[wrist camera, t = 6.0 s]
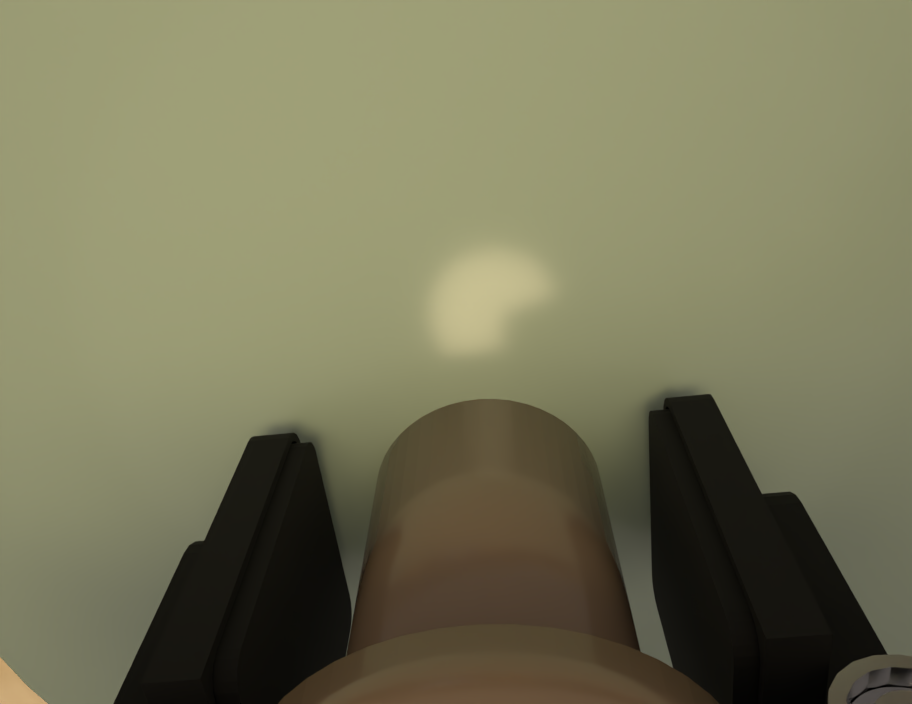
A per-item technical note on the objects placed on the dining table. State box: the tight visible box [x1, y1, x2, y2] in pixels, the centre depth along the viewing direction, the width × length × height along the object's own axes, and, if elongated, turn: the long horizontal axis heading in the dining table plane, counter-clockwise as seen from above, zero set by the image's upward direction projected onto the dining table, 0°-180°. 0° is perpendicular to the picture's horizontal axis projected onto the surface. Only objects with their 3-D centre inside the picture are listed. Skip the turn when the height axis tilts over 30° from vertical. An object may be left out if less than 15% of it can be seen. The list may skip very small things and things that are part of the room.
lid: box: [0, 0, 912, 704], centre depth 9 cm, size 16×16×6 cm
